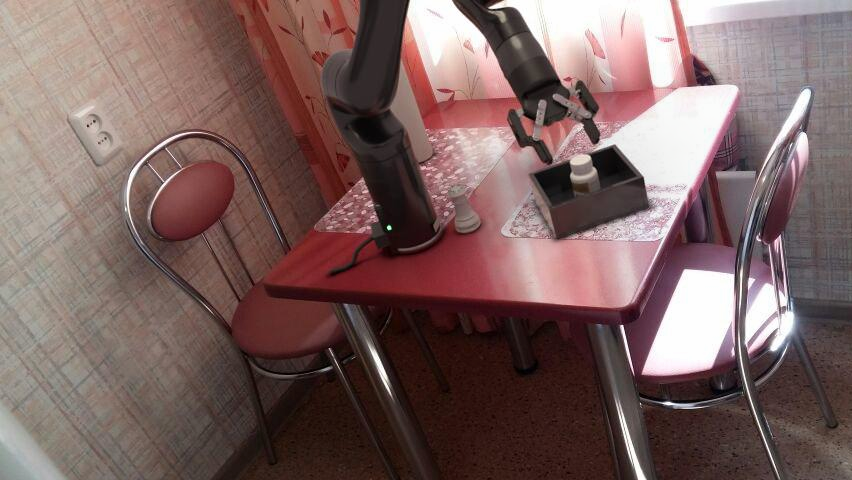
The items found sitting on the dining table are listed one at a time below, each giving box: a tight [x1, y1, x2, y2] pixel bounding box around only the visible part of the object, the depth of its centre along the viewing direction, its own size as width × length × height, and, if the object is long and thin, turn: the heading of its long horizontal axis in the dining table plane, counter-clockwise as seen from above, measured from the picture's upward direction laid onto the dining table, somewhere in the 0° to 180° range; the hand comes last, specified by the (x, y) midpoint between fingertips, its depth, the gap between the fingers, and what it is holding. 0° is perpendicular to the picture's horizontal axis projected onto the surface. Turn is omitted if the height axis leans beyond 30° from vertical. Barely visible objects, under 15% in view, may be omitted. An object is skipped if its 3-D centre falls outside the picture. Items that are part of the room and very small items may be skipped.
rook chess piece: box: [447, 182, 482, 234], centre depth 135 cm, size 4×4×8 cm
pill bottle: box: [569, 153, 601, 198], centre depth 131 cm, size 4×4×8 cm
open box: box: [527, 143, 650, 240], centre depth 132 cm, size 16×14×6 cm
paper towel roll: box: [390, 58, 434, 164], centre depth 160 cm, size 7×6×21 cm
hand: (574, 152), depth 129 cm, fingers open, 8 cm apart
